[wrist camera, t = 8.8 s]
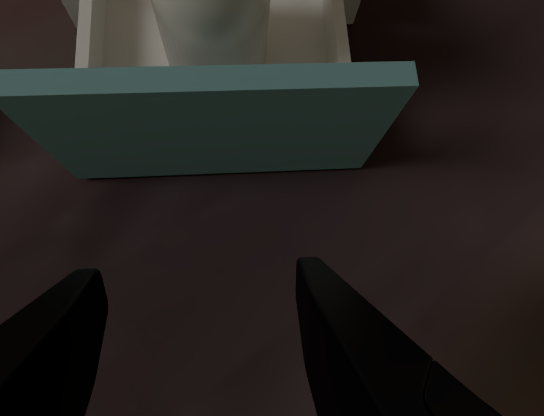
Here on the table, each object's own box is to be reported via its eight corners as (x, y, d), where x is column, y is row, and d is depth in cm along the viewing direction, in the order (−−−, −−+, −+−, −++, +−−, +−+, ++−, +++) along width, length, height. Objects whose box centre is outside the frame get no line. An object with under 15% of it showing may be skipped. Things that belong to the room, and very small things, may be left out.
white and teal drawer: (360, 167, 23) (418, 85, 15) (77, 178, 22) (-15, 96, 14) (337, -16, 26) (376, -161, 18) (89, -14, 25) (19, -167, 17)
